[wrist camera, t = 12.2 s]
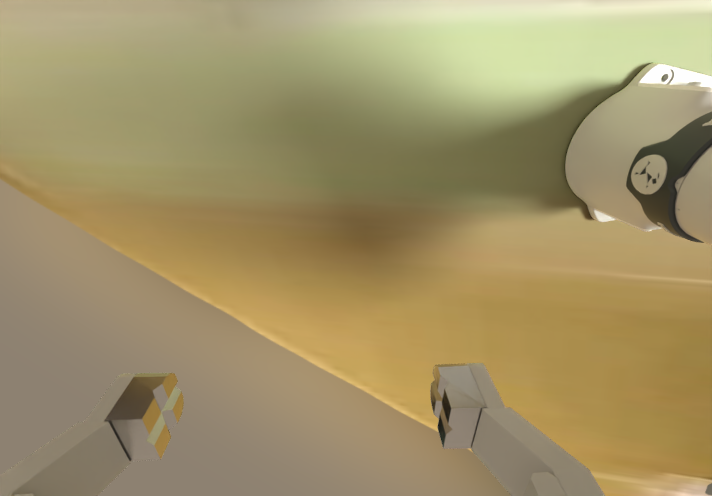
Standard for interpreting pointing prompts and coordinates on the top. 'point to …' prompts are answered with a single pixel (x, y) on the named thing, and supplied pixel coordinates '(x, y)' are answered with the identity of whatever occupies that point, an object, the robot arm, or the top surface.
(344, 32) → the top surface
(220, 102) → the top surface
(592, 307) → the top surface
